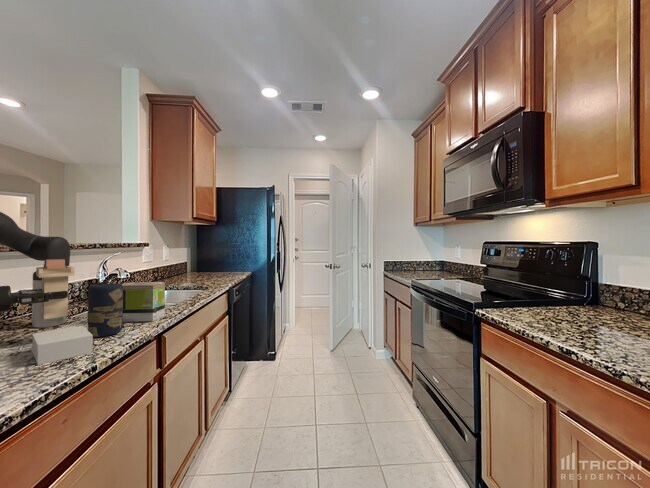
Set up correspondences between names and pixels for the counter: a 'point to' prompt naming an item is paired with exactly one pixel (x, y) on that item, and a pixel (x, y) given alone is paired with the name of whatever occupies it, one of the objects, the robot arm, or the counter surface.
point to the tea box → (143, 301)
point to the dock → (61, 344)
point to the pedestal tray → (54, 290)
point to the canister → (105, 309)
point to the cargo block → (55, 263)
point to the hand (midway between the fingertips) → (65, 293)
